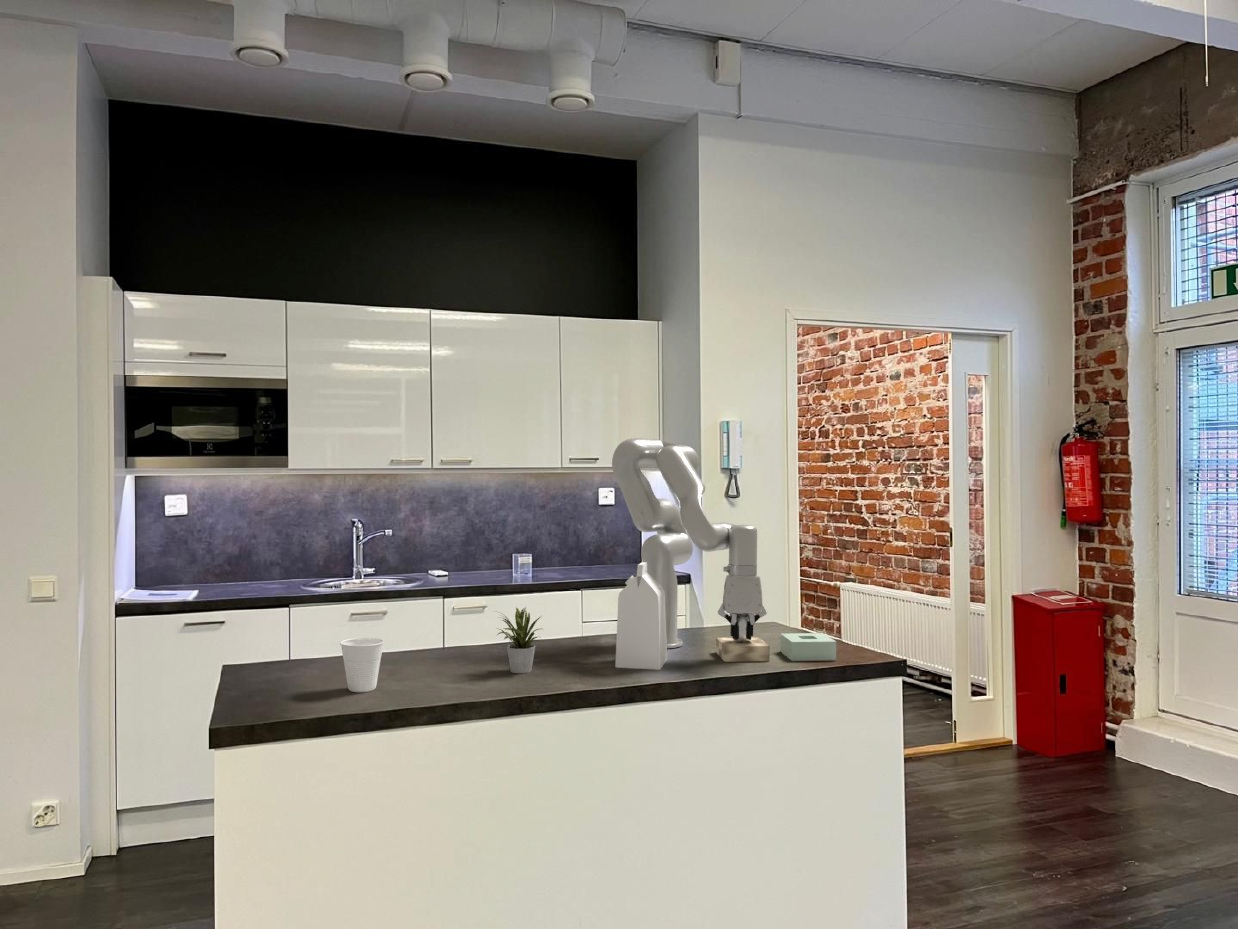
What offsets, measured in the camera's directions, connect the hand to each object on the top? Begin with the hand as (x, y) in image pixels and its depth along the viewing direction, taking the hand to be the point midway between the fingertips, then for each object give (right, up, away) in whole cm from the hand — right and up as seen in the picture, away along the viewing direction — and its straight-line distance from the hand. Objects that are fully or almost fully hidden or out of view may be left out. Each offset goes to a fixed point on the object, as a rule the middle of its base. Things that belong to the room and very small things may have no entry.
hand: (741, 638), depth 259 cm
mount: (0, -5, 0) cm, 5 cm away
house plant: (-59, -5, -18) cm, 61 cm away
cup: (-92, -5, -39) cm, 100 cm away
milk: (-27, -5, -9) cm, 29 cm away
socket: (+18, -5, +1) cm, 19 cm away
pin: (0, -5, 0) cm, 5 cm away
